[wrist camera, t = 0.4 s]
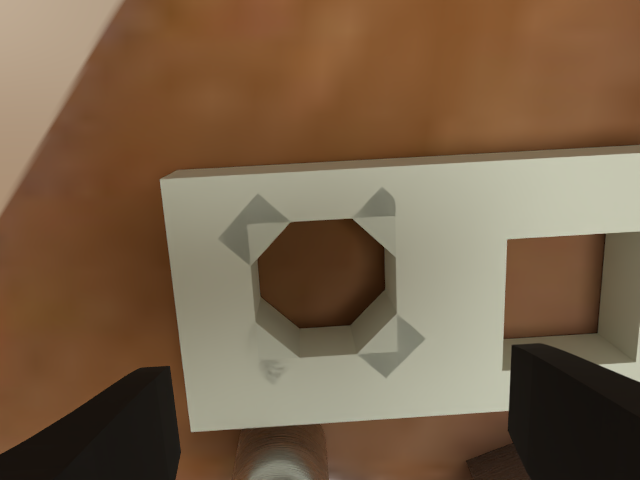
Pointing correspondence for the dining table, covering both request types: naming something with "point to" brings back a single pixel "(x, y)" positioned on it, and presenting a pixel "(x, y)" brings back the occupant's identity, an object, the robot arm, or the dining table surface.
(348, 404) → the sage board
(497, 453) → the square dark bit
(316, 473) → the cylinder
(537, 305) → the dining table surface
